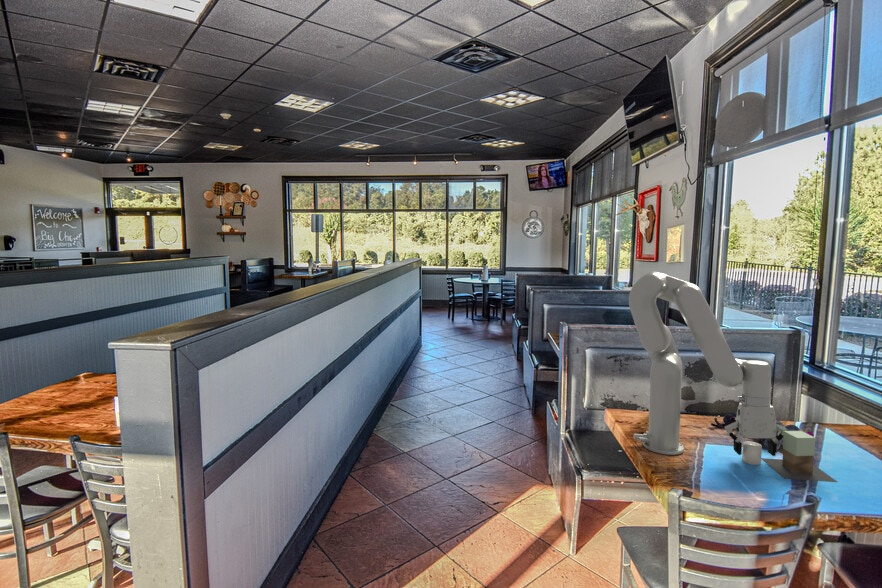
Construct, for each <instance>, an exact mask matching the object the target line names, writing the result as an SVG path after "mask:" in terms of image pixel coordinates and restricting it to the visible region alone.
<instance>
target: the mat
mask: <svg viewBox="0 0 882 588" xmlns="http://www.w3.org/2000/svg"><path fill="white" fill-rule="evenodd" d="M761 461H763V463H764V462H765V464H767V466H769V467H770V468H771V469H772V470H773V471H775V472H776V473H777V474H778V475H779V476H781V477H782V478H783V480H797V481H798V480H799V481H814V482H815V481H816V482H829V483H838V481H837V480H836V479H835V478H833V477H831V476H830V475H829V474H828V473H827V472H825V471H824V470H822V469H820V468H819V467H818V466H817V465H815V464H814V463H813V474H801V473H792V472H790V471H789V470H788V469H787V468H786V467H784V466H783V465H782V462H783V458H782V459H780V458H764V457H763V458H762V457H761Z"/></svg>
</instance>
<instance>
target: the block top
mask: <svg viewBox="0 0 882 588" xmlns="http://www.w3.org/2000/svg"><path fill="white" fill-rule="evenodd" d="M816 438H817V437H815V436H811V435H809V434H807V433H806V432H805V431H802V430H800V431H784V436H783V444H782V450H783V449H785V450H787V451H788V452H790V453H792V454H794V455H795V456H814V457H815V452H816Z"/></svg>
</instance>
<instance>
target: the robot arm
mask: <svg viewBox="0 0 882 588" xmlns="http://www.w3.org/2000/svg"><path fill="white" fill-rule="evenodd" d="M658 298H659V299H661V300H663V301H666V302H668V303H672V304H675V305H676V307H677V309H678V311H679V313H680V315H681V317H682V318H683V319H684V322H685V324H686V325H687V328H688V329H689V332H690V333H691V336H692V337H693V340H694V341H695V343H696V345H697V347H699V349H700V352H701V353H702V355H703V357H704V360H705V361H706V363H707V364H708V367H709V368H710V371H711V372H712V374H713V376H714V378H715V379H716V381H717V382H718V383H719V384H720V385H721V386H724V387H727V388H733V387H734V388H735V387H737V386H738V385H740V384H741V394H740V396H737V397H736V401H739V404H738V407H737V411H736V412H737V417H735V420H736V422H734V423H732V424H729V425H727V426H725V427H724V429H725V432H726V433H727V436H729V437H730V438H731V439H732V440H733V450H734V452H735V453H736V454H737V455H738V456H741V455H742V452H743V442H741V441H742V440H743V439H744V438H745V439H759V438H762V439H770V440H769V441H768V449H767V453H768V454H770V455H771V456H772V457H776V453H777V451H778V450H777V444H778V443H779V441H780V440H781V439H782V438H783V435H784V431H787V430H786V429H785V428H783V427H781V426H779V425H777V424H776V420H777V419H776V411H775V409H774V406H773V405H772V404H771V393H772V392H771V391H772V390H771V388H772V387H771V386H772V385H771V384H772V367H771V365H770V363H768V362H767V361H764V360H756V359H755V360H754V359H751V360H750V359H749V360H746V359H739V358H736V357H735V356H734V354H733V352H732V349H730V346H729V345H728V342H727V340H726V337H725V334H724V332H723V331H724V330H723V329H722V327H721V325H720V322H719V321H718V319H717V317H716V315H715V314H714V312H713V310H712V309H711V307H710V305H709V303H708V301H707V299H706V297H705V296H704V294H703V292H702V290H701V287H699V286H698V285H697V284H696V283H695V284H694V283H691V282H688V281H685V280H683V279H680V278H676V277H674V276H670V275H669V274H666V273H663V272H659V271H649V272H647V273H645V274H643V275H642V276H641V277H639V279H638V280H637V281H636V282H635V283H634V284H633V286H632V287H631V290H630V291H629V294H628V306H629V310H630V313H631V316H632V319H633V322H634V325H635V328H636V331H637V334H638V336H639V340H640V344H641V346H642V348H643V349H644V350H645V351H647V354H648V356H649V359H650V362H651V366H650V369H649V408H648V409H649V410H648V412H649V413H648V430H645V433H644V432H643V434H641V433H633V439H634V440H639V441H638V442H640V443H642V444H643V447H644V448H645V449H647V450H648V451H651V452H653V453H656V454H660V455H667V456H674V455H675V456H676V455H681V454H682V453H684V452H685V447H684V445H683V444H682V443H680V432H681V431H680V428H681V427H680V426H681V408H682V407H681V405H682V400H681V399H682V383H683V361H682V358H681V355H680V353H679V350H678V347H677V344H676V342H675V339H674V337H673V335H672V332H671V330H670V328H669V327H668V326H667V325H666V324H665V323H664V322H663V320H662V317H661V313H660V310H659V308H658V305H657V300H658ZM777 429H778V430H779V431H778V433H777ZM733 430H735V431H736V432H735V433H733Z"/></svg>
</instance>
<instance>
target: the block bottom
mask: <svg viewBox="0 0 882 588" xmlns="http://www.w3.org/2000/svg"><path fill="white" fill-rule="evenodd" d="M782 459H783V462H782V465H783V466H784V467H786V468H787V469H788V470H789V471H790V472H792V473H801V474H813V464H814V459H815V455H814V456H795V455H794V454H792V453H790V452H788V451H787V450H785V449H783V448H782Z"/></svg>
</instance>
